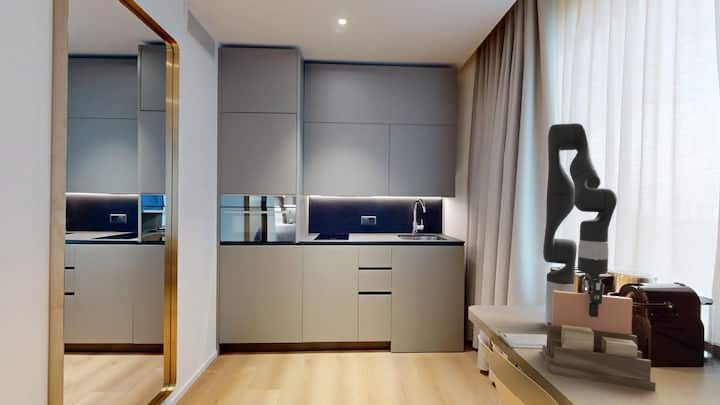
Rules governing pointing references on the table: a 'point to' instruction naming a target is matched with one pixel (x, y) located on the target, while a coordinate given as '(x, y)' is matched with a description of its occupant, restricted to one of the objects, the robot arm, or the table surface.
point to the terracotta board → (576, 312)
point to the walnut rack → (597, 361)
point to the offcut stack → (585, 340)
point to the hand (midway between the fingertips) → (590, 313)
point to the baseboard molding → (524, 340)
